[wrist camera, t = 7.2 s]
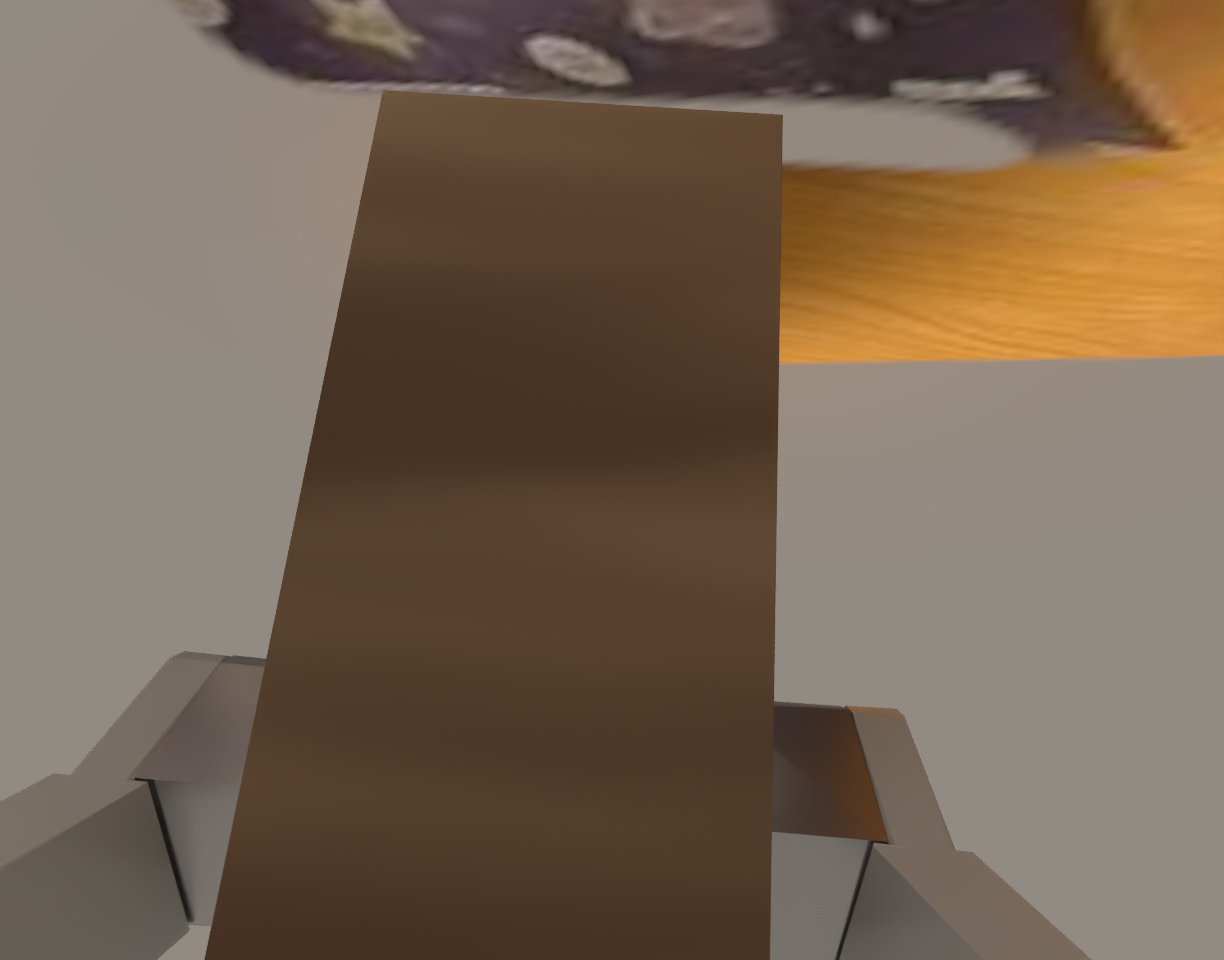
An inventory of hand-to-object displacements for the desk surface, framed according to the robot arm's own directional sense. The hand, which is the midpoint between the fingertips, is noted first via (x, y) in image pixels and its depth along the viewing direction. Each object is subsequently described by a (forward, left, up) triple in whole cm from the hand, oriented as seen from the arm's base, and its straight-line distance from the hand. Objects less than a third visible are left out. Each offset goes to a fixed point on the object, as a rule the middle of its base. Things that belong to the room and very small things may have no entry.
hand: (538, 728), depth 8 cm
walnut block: (0, 0, -6) cm, 6 cm away
